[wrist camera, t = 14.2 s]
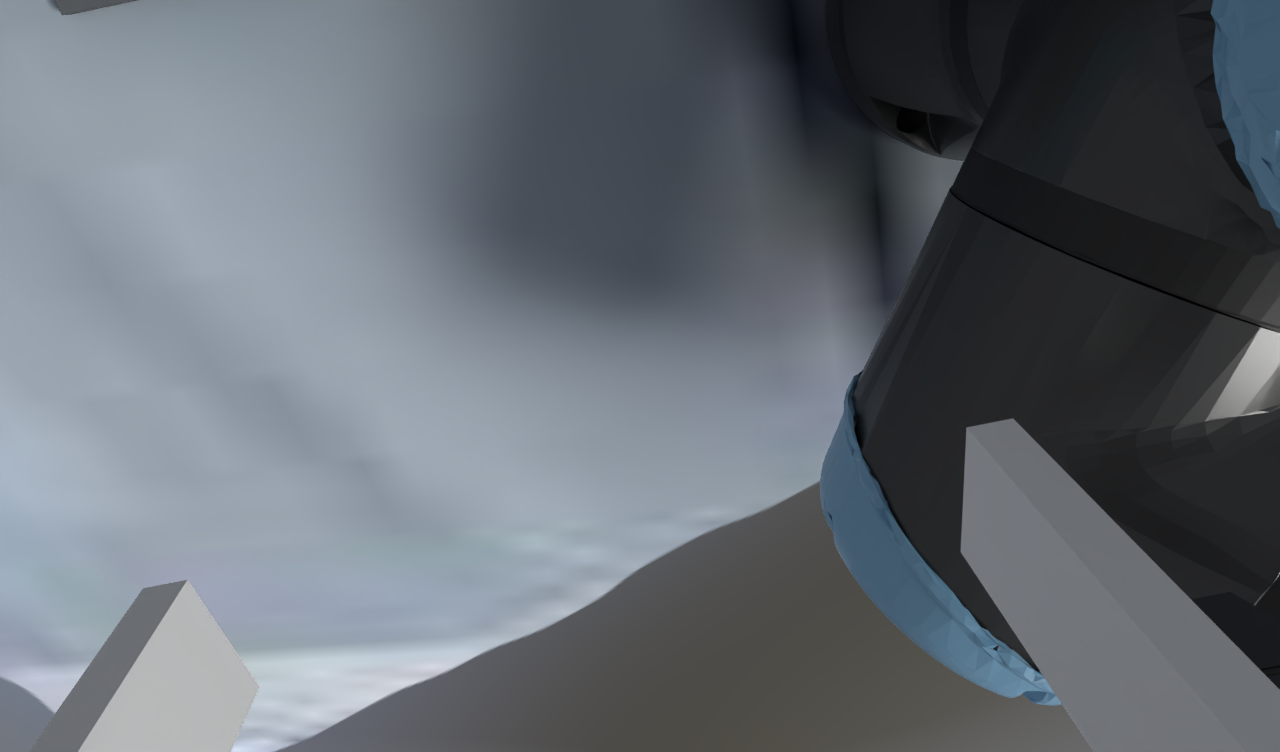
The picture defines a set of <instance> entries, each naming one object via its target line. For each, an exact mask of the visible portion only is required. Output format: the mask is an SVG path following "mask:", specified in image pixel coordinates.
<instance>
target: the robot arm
mask: <svg viewBox="0 0 1280 752" xmlns="http://www.w3.org/2000/svg"><path fill="white" fill-rule="evenodd" d="M826 21H827V31H828V37H829V43H830V47H831V52H832V56H833V59H834V62H835V65H836V68H837V70H838V73H839V75H840V78H841V80H842V82H843V84H844V86H845V88H846V90H847V91H848V93H849V95H850V96H851V98H852V99H853V101H854V102H855V103H856V105H857V106H858V107H859V109H860V110H861V111H862V112H863V113H864V114H865V115H866V116H867V117H868V118H869V119H870V120H871V121H872V122H873V123H874V124H875V125H876V126H878V127H879V128H880V129H881V130H883V131H884V132H886V133H887V134H889V135H890V136H892V137H894V138H896V139H898V140H900V141H901V142H903V143H905V144H907V145H909V146H911V147H913V148H915V149H918V150H920V151H922V152H925V153H928V154H931V155H934V156H938V157H942V158H947V159H954V160H961V161H964V163H963V165H962V167H961V169H960V171H959V173H958V175H957V178H956V180H955V182H954V184H953V186H952V187H951V188H950V189H949V191H948V194H947V196H946V198H945V200H944V202H943V205H942V207H941V209H940V211H939V213H938V215H937V218H936V220H935V222H934V224H933V226H932V228H931V231H930V233H929V235H928V237H927V239H926V241H925V244H924V246H923V248H922V250H921V252H920V254H919V256H918V258H917V260H916V263H915V265H914V267H913V269H912V271H911V273H910V275H909V277H908V279H907V281H906V283H905V285H904V287H903V289H902V291H901V293H900V295H899V297H898V300H897V302H896V304H895V306H894V308H893V310H892V312H891V314H890V316H889V318H888V320H887V322H886V324H885V326H884V328H883V330H882V332H881V334H880V337H879V339H878V341H877V343H876V345H875V347H874V349H873V351H872V353H871V355H870V357H869V359H868V361H867V363H866V365H865V367H864V369H863V370H862V371H861V372H860V373H859V374H858V375H856V376H854V378H853V379H852V381H851V383H850V385H849V387H848V389H847V391H846V396H845V400H844V413H843V416H842V418H841V421H840V423H839V425H838V428H837V430H836V433H835V435H834V437H833V440H832V442H831V445H830V447H829V449H828V452H827V454H826V457H825V459H824V463H823V466H822V471H821V479H820V494H821V503H822V508H823V512H824V514H825V518H826V520H827V523H828V525H829V526H830V528H831V529H832V531H833V532H834V542H835V545H836V548H837V550H838V552H839V554H840V556H841V557H842V559H843V560H844V562H845V564H846V566H847V567H848V569H849V570H850V572H851V573H852V575H853V576H854V578H855V579H856V581H857V582H858V583H859V585H860V586H861V588H862V589H863V590H864V591H865V593H866V594H867V595H868V596H869V597H870V599H871V600H872V601H873V602H874V603H875V605H876V606H877V607H878V608H879V609H880V610H881V611H882V612H883V614H885V616H886V617H888V619H889V620H891V622H893V624H895V625H896V626H897V627H898V628H899V629H900V630H901V631H902V632H903V633H904V634H905V635H906V636H908V637H909V638H910V639H911V640H912V641H913V642H914V643H916V644H917V645H918V646H919V647H921V648H922V649H923V650H924V651H925V652H927V653H928V654H929V655H931V656H932V657H933V658H935V659H936V660H938V661H939V662H941V663H942V664H943V665H945V666H946V667H948V668H949V669H951V670H952V671H954V672H956V673H957V674H959V675H960V676H962V677H964V678H966V679H968V680H969V681H971V682H973V683H975V684H977V685H979V686H981V687H984V688H986V689H988V690H990V691H992V692H995V693H997V694H999V695H1003V696H1006V697H1010V698H1014V697H1017V696H1019V695H1021V694H1022V693H1023V694H1024V695H1025V696H1026V697H1027V698H1028V699H1029V700H1030V701H1031V702H1033V703H1036V704H1044V705H1061V704H1062V705H1063V706H1064V708H1065V709H1066V711H1067V712H1068V714H1069V715H1070V717H1071V718H1072V720H1073V721H1074V723H1075V724H1076V726H1077V727H1078V729H1079V730H1080V732H1081V733H1082V735H1083V736H1084V738H1085V739H1086V741H1087V742H1088V744H1089V746H1090V747H1091V748H1092V750H1093V751H1094V752H1280V0H826ZM258 689H259V685H258V684H257V682H256V681H255V679H254V678H253V677H252V675H251V674H250V672H249V671H248V669H247V668H246V666H245V665H244V663H243V662H242V660H241V659H240V657H239V656H238V654H237V653H236V651H235V650H234V648H233V647H232V645H231V644H230V642H229V641H228V639H227V638H226V636H225V635H224V633H223V632H222V631H221V629H220V628H219V626H218V625H217V623H216V622H215V620H214V619H213V617H212V616H211V614H210V613H209V611H208V610H207V608H206V607H205V605H204V604H203V602H202V601H201V599H200V598H199V596H198V595H197V593H196V592H195V590H194V589H193V587H192V586H191V584H190V583H189V582H188V580H184V581H179V582H174V583H169V584H164V585H159V586H154V587H149V588H144V589H142V591H141V592H140V594H139V595H138V596H137V598H136V599H135V601H134V602H133V604H132V605H131V606H130V608H129V609H128V611H127V612H126V614H125V615H124V616H123V618H122V619H121V621H120V622H119V624H118V625H117V626H116V628H115V629H114V631H113V632H112V634H111V635H110V636H109V638H108V639H107V641H106V642H105V644H104V645H103V646H102V648H101V649H100V651H99V652H98V654H97V655H96V656H95V658H94V659H93V661H92V662H91V664H90V665H89V666H88V668H87V669H86V671H85V672H84V674H83V675H82V676H81V678H80V679H79V681H78V682H77V684H76V685H75V686H74V688H73V689H72V691H71V692H70V694H69V695H68V696H67V698H66V699H65V701H64V702H63V703H62V705H61V706H60V708H59V709H58V711H57V712H56V713H55V715H54V716H53V718H52V719H51V721H50V722H49V723H48V725H47V726H46V728H45V729H44V731H43V732H42V734H41V735H40V736H39V738H38V739H37V741H36V742H35V744H34V745H33V746H32V748H31V749H30V751H29V752H231V750H232V747H233V745H234V743H235V741H236V738H237V736H238V734H239V732H240V729H241V727H242V725H243V723H244V720H245V718H246V716H247V714H248V711H249V709H250V707H251V704H252V702H253V700H254V698H255V695H256V693H257V691H258Z"/></svg>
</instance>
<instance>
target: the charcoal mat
mask: <svg viewBox="0 0 1280 752" xmlns="http://www.w3.org/2000/svg"><path fill="white" fill-rule="evenodd" d="M132 1H136V0H55V2H56V4H57V6H58V8H59V10H60V12H61V14H62V15H70V14H75V13H80V12H85V11H89V10H94V9H99V8H103V7H108V6H113V5H117V4H122V3H127V2H132Z"/></svg>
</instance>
